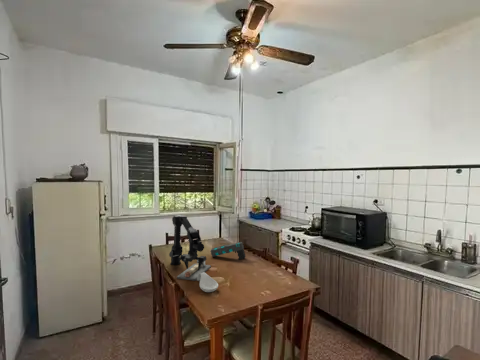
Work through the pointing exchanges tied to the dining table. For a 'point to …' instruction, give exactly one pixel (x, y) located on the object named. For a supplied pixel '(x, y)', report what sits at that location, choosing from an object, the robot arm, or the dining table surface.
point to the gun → (229, 250)
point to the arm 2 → (192, 271)
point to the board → (195, 274)
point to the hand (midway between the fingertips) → (193, 269)
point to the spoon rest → (207, 282)
